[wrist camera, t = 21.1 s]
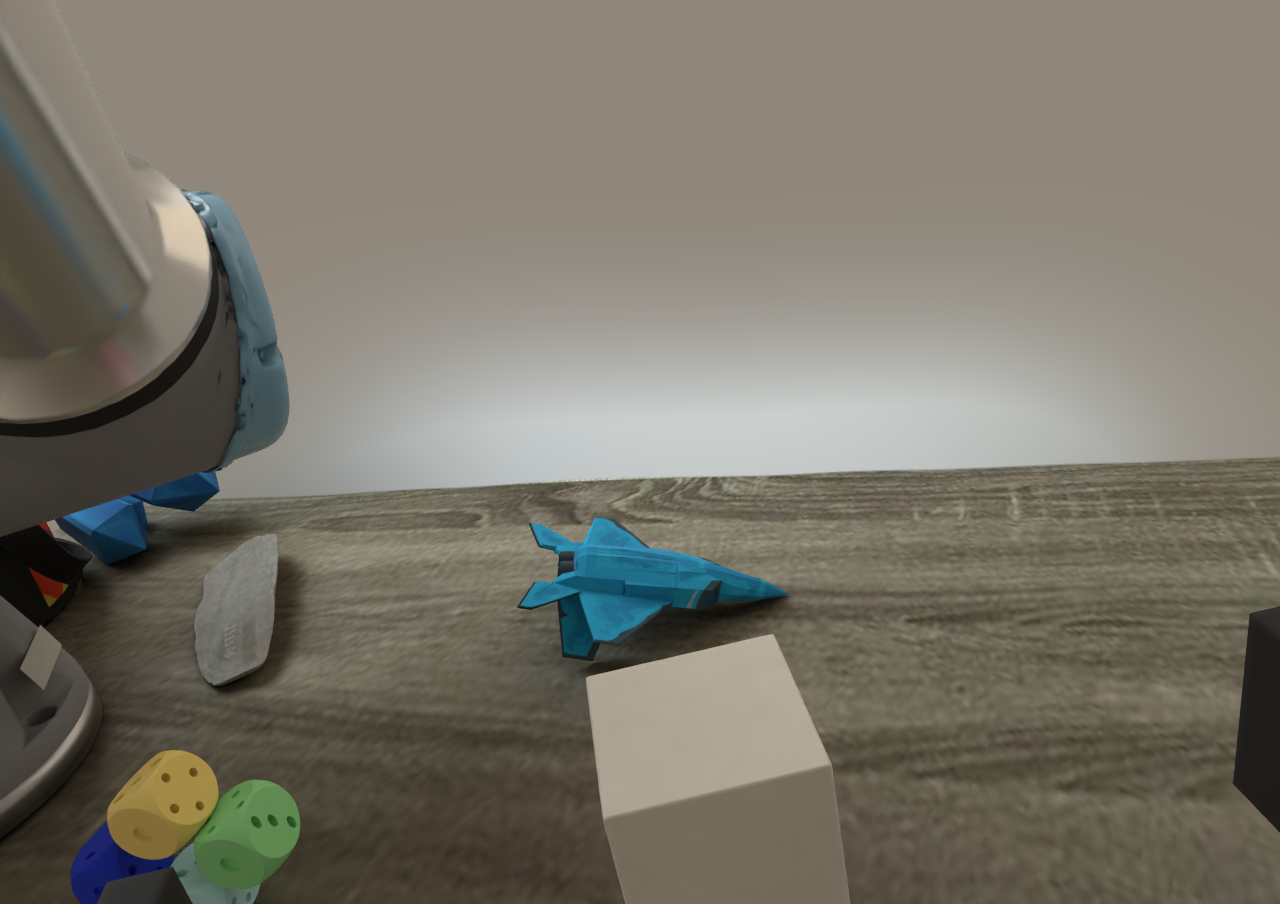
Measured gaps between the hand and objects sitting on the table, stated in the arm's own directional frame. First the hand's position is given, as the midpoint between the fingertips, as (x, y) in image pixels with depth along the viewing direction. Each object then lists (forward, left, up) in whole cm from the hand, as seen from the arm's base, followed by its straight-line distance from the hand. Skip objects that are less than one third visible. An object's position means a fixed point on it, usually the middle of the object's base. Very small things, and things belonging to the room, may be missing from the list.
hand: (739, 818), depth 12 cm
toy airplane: (-22, +19, -17) cm, 34 cm away
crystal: (-66, +9, -12) cm, 68 cm away
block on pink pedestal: (-3, +3, -12) cm, 12 cm away
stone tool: (-45, +7, -17) cm, 48 cm away
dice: (-25, -1, -17) cm, 30 cm away
